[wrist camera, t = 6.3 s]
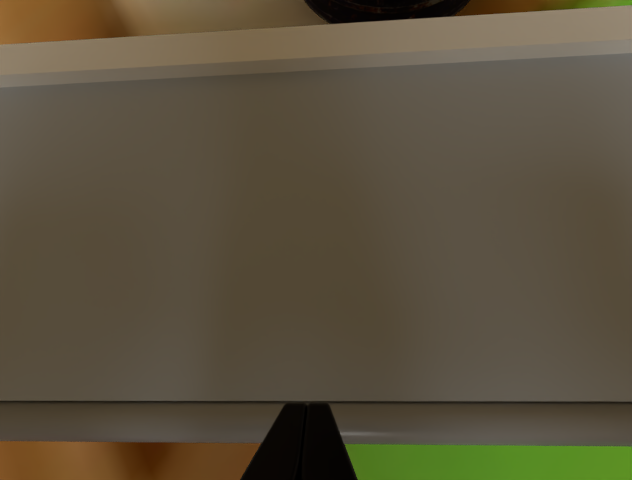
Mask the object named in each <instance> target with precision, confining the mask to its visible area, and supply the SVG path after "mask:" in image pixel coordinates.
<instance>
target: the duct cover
mask: <svg viewBox="0 0 632 480" xmlns="http://www.w3.org/2000/svg"><path fill="white" fill-rule="evenodd" d="M287 402H305V403H306V404H307V405H308V403H310V402H327V403H328V404H329V405H330V407H331V410H332V413H333V415H334V418H335V421H336V423H337V426H338V429H339V431H340V434H341V437H342V439H343V442H344V444H418V445H535V446H632V5H631V6H615V7H599V8H583V9H566V10H550V11H534V12H518V13H502V14H486V15H470V16H454V17H438V18H422V19H406V20H390V21H374V22H358V23H342V24H326V25H310V26H294V27H278V28H262V29H246V30H230V31H213V32H197V33H181V34H165V35H149V36H133V37H117V38H101V39H85V40H69V41H53V42H37V43H21V44H5V45H0V441H67V442H184V443H262V442H263V440H264V438H265V436H266V435H267V433H268V431H269V430H270V428H271V426H272V424H273V423H274V421H275V419H276V418H277V416H278V414H279V413H280V411H281V409H282V407H283V406H284V405H285V404H286V403H287Z"/></svg>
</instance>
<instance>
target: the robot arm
mask: <svg viewBox="0 0 632 480" xmlns="http://www.w3.org/2000/svg"><path fill="white" fill-rule="evenodd" d="M240 480H357V477H356V474H355V472H354V469H353V466H352V463H351V461H350V458H349V455H348V453H347V450H346V447H345V445H344V442H343V439H342V437H341V434H340V431H339V429H338V426H337V423H336V421H335V418H334V415H333V413H332V410H331V407H330V405H329V404H328V403H327V402H310V403H308V405H307V404H306V403H305V402H287V403H286V404H285V405H284V406H283V407H282V409H281V411H280V413H279V414H278V416H277V418H276V419H275V421H274V423H273V424H272V426H271V428H270V430H269V431H268V433H267V435H266V436H265V438H264V440H263V442H262V443H261V445H260V447H259V448H258V450H257V452H256V453H255V455H254V457H253V459H252V460H251V462H250V464H249V465H248V467H247V469H246V471H245V472H244V474H243V476H242V477H241V479H240Z"/></svg>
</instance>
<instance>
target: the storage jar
mask: <svg viewBox="0 0 632 480" xmlns="http://www.w3.org/2000/svg"><path fill="white" fill-rule="evenodd" d="M469 1H470V0H305V2H306V3H307V5H308V6H309V7H310V8H311V9H312V10H313V11H314V12H315V13H316V14H317V15H318V16H320V17H321V18H323V19H324V20H325V21H327V22H328V23H330V24H342V23H358V22H374V21H390V20H406V19H422V18H438V17H453V16H454V15H455V14H457V13H458V12H459V11H460V10H461V9H463V8H464V7H465V5H466V4H467V3H468V2H469Z"/></svg>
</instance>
